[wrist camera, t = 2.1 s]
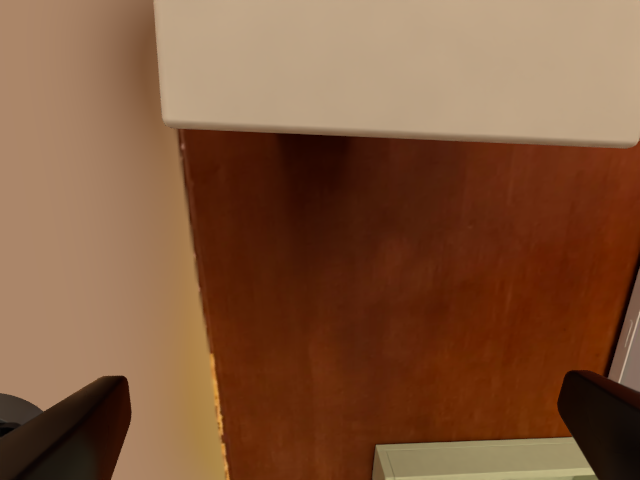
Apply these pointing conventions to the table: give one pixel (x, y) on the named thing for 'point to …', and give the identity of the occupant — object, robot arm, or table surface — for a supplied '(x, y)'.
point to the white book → (405, 69)
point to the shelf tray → (483, 460)
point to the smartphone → (629, 345)
